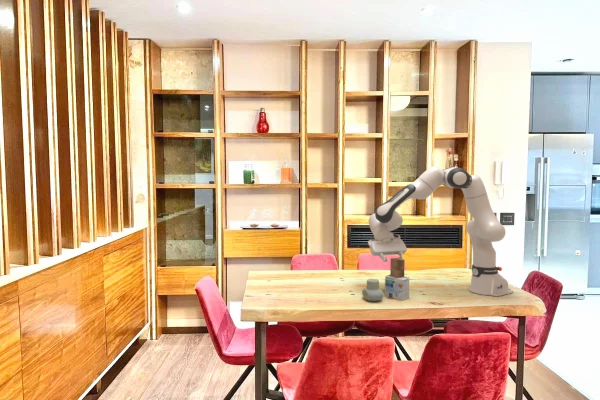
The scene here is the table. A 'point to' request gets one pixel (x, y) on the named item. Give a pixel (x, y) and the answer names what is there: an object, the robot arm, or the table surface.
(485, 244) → the robot arm
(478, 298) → the table surface
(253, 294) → the table surface
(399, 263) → the walnut block
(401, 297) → the light bulb box
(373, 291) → the air freshener
